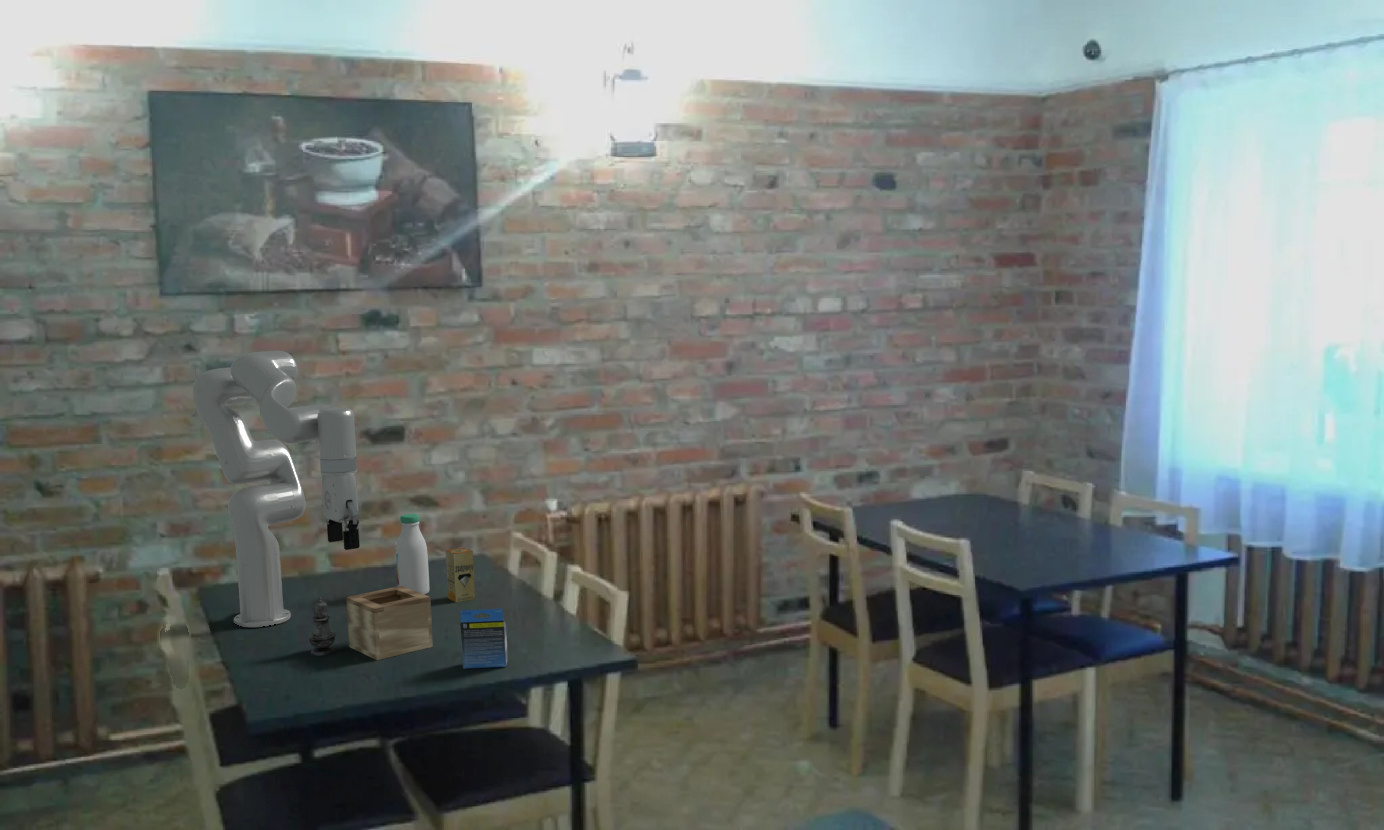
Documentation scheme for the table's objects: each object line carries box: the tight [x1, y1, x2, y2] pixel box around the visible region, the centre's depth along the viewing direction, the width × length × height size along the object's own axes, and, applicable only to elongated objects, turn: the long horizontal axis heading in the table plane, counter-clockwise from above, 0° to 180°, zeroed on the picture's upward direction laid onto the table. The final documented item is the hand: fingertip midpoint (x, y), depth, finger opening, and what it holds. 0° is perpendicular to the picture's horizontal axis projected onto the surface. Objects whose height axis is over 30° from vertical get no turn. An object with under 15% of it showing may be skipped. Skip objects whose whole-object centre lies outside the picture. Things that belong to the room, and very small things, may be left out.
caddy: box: [345, 585, 434, 661], centre depth 266 cm, size 13×13×11 cm
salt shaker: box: [307, 596, 337, 656], centre depth 264 cm, size 6×6×12 cm
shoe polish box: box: [445, 547, 476, 604], centre depth 304 cm, size 5×5×12 cm
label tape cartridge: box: [459, 607, 508, 670], centre depth 252 cm, size 9×4×12 cm, turn 92°
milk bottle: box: [395, 513, 430, 595], centre depth 310 cm, size 8×8×20 cm
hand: (343, 545), depth 266 cm, fingers open, 9 cm apart
